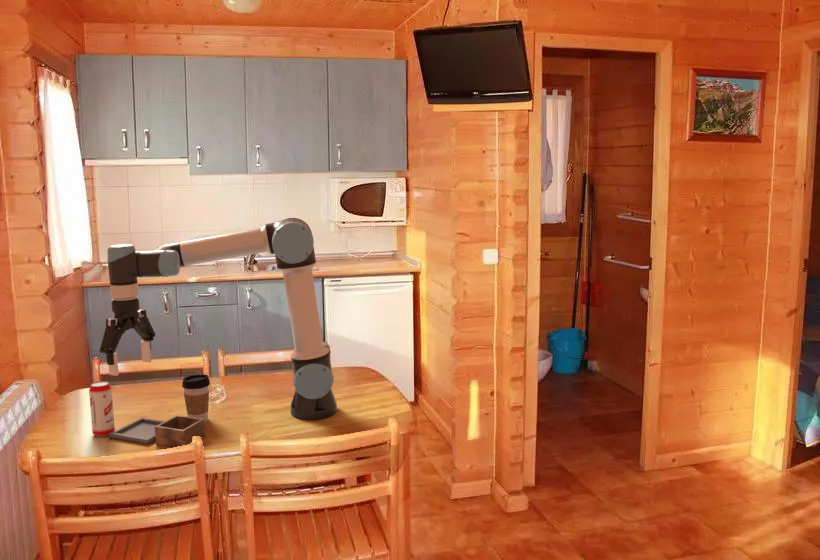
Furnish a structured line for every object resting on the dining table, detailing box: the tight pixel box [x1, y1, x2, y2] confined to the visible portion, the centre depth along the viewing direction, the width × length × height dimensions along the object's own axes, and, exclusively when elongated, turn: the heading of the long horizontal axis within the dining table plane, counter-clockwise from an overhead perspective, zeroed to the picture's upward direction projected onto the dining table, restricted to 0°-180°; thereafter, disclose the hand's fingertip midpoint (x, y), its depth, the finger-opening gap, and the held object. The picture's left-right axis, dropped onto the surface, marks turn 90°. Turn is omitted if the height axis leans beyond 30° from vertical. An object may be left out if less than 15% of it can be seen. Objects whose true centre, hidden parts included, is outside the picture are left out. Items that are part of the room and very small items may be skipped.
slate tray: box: [108, 417, 165, 446], centre depth 220 cm, size 14×14×2 cm
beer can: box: [88, 380, 116, 438], centre depth 220 cm, size 6×6×16 cm
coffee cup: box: [181, 374, 211, 423], centre depth 229 cm, size 8×8×15 cm
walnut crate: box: [155, 414, 206, 448], centre depth 214 cm, size 10×10×6 cm
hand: (130, 368), depth 215 cm, fingers open, 13 cm apart
